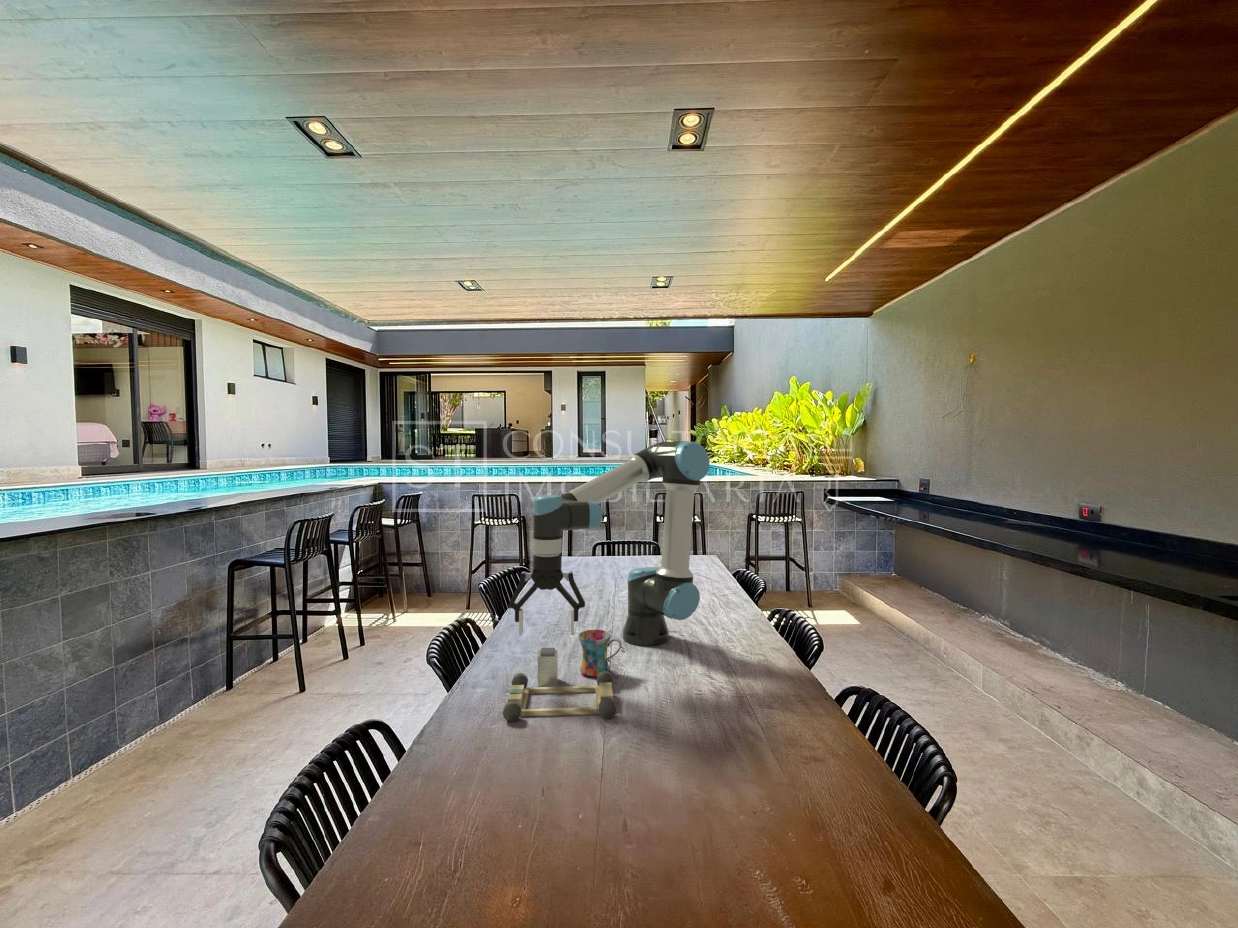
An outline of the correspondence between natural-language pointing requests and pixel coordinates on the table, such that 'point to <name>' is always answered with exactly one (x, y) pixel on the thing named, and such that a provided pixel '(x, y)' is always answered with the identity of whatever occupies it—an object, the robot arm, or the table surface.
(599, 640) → the mug
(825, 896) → the table surface
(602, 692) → the chassis
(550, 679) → the engine block
